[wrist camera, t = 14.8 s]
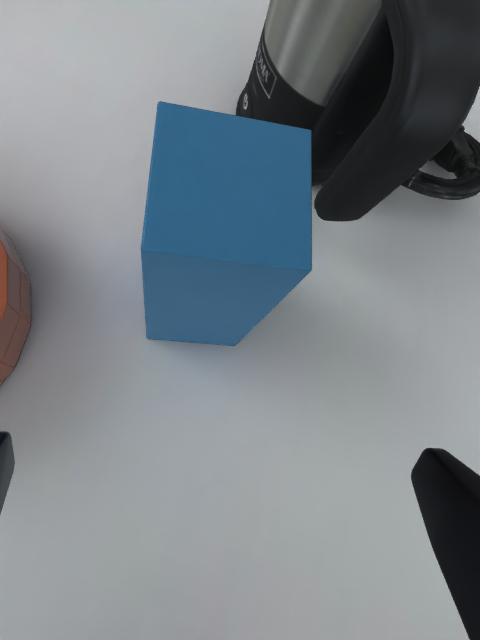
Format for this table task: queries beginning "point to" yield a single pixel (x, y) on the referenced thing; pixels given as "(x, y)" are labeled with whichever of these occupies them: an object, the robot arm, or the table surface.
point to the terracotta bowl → (12, 306)
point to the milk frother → (372, 95)
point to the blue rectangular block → (223, 223)
